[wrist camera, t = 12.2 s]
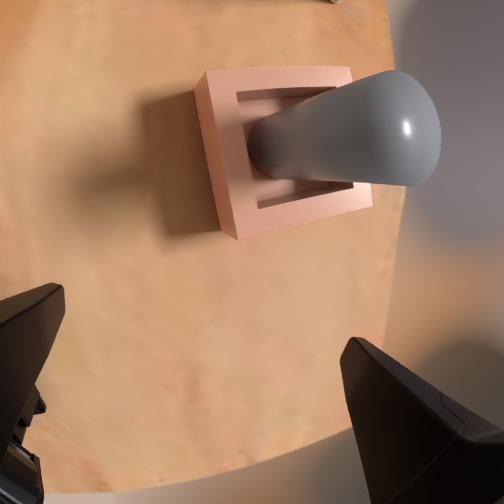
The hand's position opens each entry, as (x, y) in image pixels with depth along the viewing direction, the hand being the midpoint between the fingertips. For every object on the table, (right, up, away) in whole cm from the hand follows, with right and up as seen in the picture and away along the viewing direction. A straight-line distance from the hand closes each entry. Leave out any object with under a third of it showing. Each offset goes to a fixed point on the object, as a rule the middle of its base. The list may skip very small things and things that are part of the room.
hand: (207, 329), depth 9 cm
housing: (+3, +10, +13) cm, 17 cm away
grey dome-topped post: (+3, +10, +12) cm, 16 cm away
